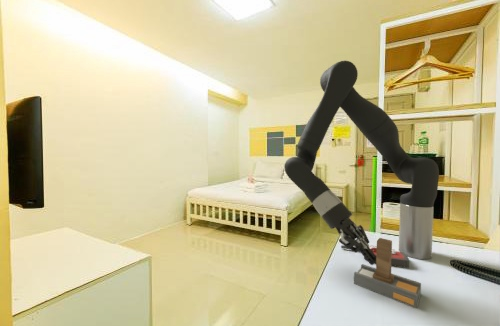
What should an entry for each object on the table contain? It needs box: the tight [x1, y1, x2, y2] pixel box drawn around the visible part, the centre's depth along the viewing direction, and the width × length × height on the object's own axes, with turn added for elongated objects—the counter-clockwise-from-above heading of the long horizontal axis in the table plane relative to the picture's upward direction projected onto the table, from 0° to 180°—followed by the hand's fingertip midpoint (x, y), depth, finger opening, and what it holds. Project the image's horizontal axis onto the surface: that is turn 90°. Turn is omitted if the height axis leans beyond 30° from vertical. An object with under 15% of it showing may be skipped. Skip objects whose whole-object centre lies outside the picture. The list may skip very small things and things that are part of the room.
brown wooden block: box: [373, 237, 395, 284], centre depth 57 cm, size 4×4×10 cm
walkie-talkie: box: [340, 244, 410, 269], centre depth 73 cm, size 9×4×20 cm
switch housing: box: [353, 263, 422, 309], centre depth 56 cm, size 7×14×3 cm, turn 46°
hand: (375, 262), depth 58 cm, fingers closed
